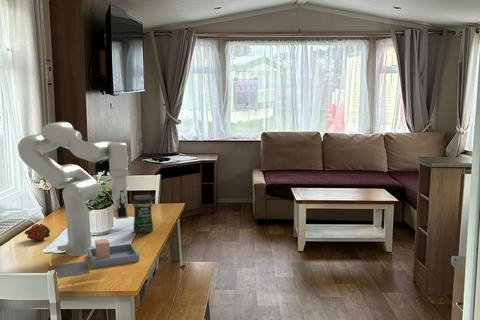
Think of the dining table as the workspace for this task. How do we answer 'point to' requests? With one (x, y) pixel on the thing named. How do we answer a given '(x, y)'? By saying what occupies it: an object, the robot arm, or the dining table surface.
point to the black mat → (71, 269)
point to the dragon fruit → (38, 232)
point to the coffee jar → (142, 213)
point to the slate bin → (115, 255)
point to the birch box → (118, 207)
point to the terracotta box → (102, 249)
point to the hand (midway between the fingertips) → (121, 214)
